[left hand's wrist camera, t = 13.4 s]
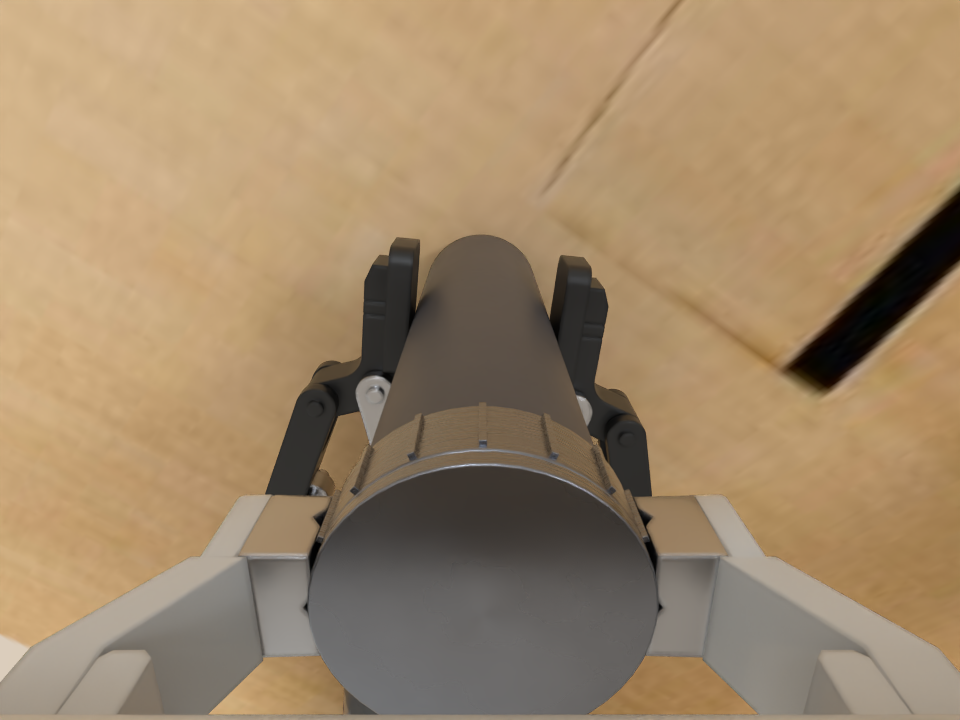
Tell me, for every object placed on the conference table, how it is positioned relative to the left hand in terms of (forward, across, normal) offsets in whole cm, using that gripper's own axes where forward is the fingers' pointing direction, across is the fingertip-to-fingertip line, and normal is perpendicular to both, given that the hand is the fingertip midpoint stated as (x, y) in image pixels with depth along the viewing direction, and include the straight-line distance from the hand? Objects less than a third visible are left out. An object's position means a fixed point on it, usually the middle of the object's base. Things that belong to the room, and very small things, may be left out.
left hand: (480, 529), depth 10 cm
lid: (-2, 0, 0) cm, 2 cm away
